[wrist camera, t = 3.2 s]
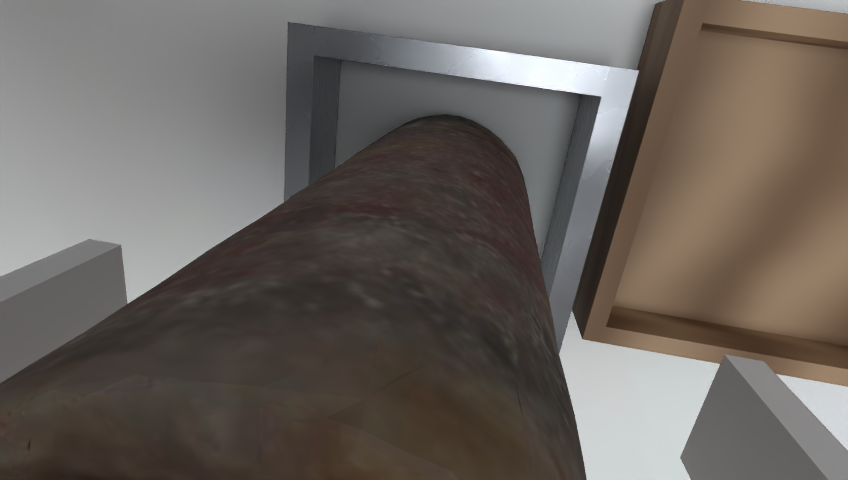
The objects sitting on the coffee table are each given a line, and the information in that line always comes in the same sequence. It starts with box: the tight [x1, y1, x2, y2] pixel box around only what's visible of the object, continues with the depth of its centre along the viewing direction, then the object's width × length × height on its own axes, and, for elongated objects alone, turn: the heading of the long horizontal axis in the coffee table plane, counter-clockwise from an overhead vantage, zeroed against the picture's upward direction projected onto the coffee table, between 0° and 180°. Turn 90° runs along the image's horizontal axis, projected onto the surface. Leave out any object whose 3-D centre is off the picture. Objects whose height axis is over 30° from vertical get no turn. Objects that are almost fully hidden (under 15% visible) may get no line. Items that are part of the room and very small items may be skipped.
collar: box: [284, 22, 639, 352], centre depth 20 cm, size 12×12×4 cm
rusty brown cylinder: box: [0, 115, 586, 480], centre depth 13 cm, size 8×7×20 cm
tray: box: [572, 0, 848, 386], centre depth 19 cm, size 14×14×3 cm
